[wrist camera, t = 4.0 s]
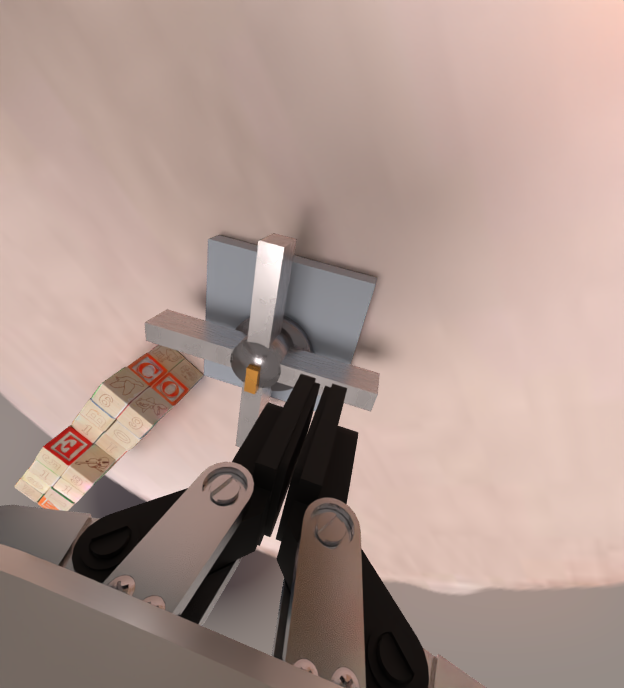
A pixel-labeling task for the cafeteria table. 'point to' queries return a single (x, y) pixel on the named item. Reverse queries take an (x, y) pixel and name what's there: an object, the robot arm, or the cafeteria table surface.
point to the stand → (287, 302)
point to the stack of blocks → (108, 427)
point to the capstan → (264, 342)
